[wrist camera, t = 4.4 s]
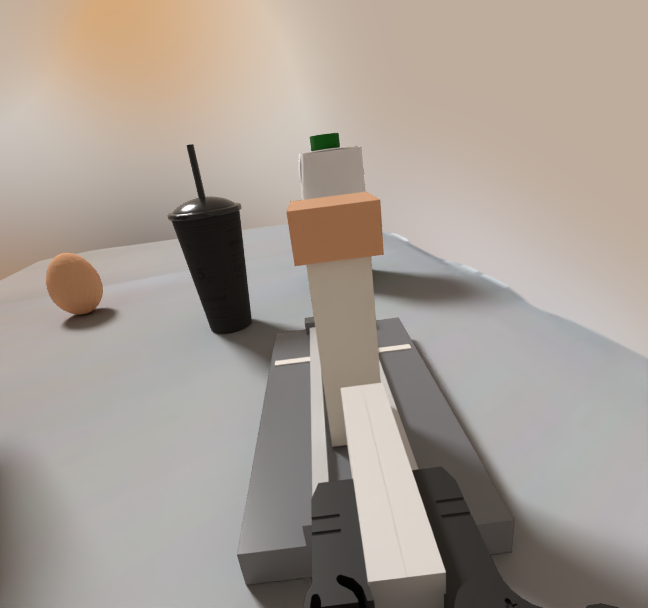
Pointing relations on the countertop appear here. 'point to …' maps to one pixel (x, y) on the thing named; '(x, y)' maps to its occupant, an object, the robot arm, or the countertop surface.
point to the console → (333, 462)
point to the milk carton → (330, 168)
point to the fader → (340, 290)
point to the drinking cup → (214, 255)
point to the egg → (73, 284)
